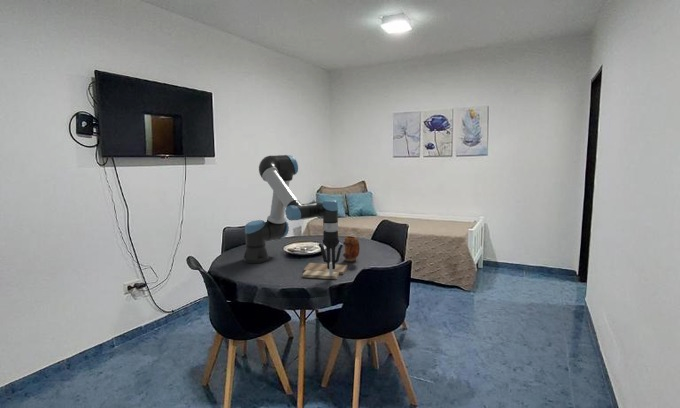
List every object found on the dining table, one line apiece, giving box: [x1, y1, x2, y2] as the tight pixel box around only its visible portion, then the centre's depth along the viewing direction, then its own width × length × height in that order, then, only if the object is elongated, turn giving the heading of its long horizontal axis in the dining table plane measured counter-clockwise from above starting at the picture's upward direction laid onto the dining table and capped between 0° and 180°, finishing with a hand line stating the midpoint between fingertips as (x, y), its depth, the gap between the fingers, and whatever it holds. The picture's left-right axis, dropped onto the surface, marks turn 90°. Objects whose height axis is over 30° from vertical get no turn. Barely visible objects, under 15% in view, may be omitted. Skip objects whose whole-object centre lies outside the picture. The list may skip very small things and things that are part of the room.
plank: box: [302, 270, 340, 280], centre depth 196 cm, size 18×8×2 cm, turn 78°
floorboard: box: [303, 262, 348, 275], centre depth 206 cm, size 22×12×2 cm, turn 78°
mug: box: [342, 235, 360, 262], centre depth 219 cm, size 15×8×15 cm, turn 23°
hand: (331, 275), depth 192 cm, fingers closed
